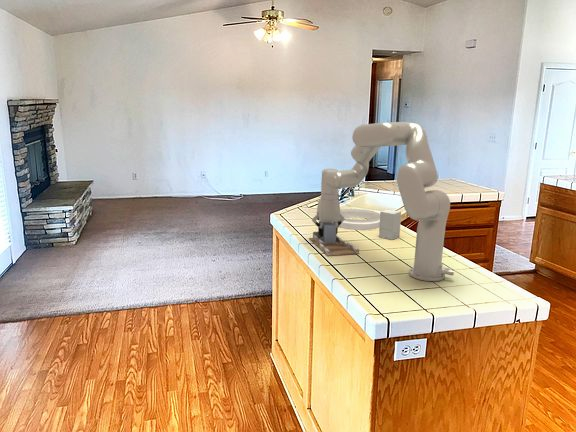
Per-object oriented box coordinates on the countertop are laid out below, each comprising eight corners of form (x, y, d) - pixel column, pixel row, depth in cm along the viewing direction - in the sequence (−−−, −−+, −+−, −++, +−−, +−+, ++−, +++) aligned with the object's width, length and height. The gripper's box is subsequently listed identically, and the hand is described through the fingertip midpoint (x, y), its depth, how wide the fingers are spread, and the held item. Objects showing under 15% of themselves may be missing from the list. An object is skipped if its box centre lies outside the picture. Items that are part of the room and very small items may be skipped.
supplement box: (399, 237, 217) (402, 211, 214) (391, 240, 211) (393, 213, 208) (386, 234, 221) (388, 208, 219) (378, 237, 216) (379, 211, 213)
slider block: (335, 242, 204) (336, 225, 202) (325, 243, 203) (325, 226, 201) (329, 238, 211) (330, 221, 209) (319, 238, 210) (320, 221, 208)
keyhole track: (359, 254, 190) (359, 246, 189) (327, 256, 186) (327, 248, 186) (337, 237, 214) (337, 230, 213) (308, 238, 211) (309, 231, 210)
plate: (392, 226, 238) (393, 216, 237) (354, 233, 223) (354, 222, 222) (357, 215, 260) (357, 206, 258) (320, 221, 245) (320, 211, 243)
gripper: (344, 194, 208) (342, 232, 212) (308, 195, 204) (307, 234, 208) (350, 197, 201) (348, 237, 205) (313, 199, 197) (312, 239, 201)
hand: (327, 235), depth 206 cm, fingers open, 6 cm apart
